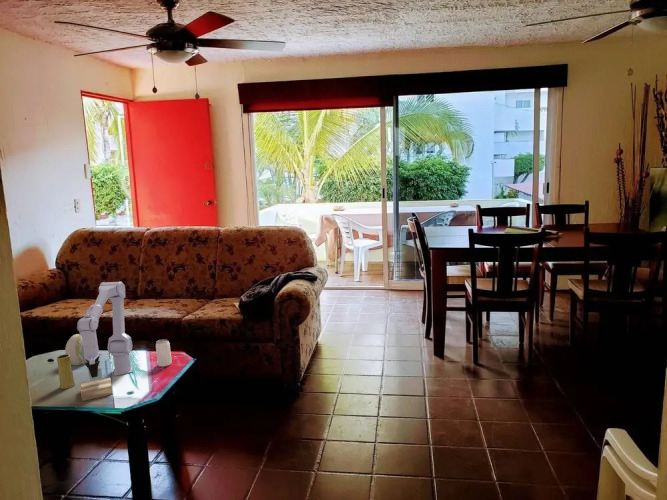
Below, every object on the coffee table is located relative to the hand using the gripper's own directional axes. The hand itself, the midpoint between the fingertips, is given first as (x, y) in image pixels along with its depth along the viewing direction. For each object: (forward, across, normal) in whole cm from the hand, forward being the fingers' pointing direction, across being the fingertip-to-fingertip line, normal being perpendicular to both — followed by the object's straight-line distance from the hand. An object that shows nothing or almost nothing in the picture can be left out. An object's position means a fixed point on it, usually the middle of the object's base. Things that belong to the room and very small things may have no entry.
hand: (94, 375), depth 227 cm
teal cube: (+2, 0, 0) cm, 2 cm away
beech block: (+8, 0, 0) cm, 8 cm away
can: (+8, +18, -31) cm, 37 cm away
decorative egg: (+8, +48, +8) cm, 49 cm away
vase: (+8, +16, +12) cm, 22 cm away
